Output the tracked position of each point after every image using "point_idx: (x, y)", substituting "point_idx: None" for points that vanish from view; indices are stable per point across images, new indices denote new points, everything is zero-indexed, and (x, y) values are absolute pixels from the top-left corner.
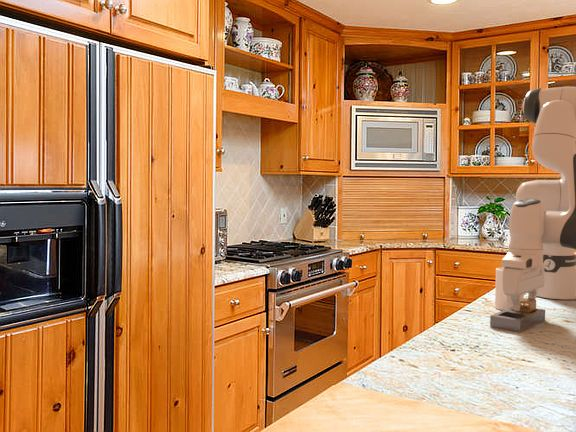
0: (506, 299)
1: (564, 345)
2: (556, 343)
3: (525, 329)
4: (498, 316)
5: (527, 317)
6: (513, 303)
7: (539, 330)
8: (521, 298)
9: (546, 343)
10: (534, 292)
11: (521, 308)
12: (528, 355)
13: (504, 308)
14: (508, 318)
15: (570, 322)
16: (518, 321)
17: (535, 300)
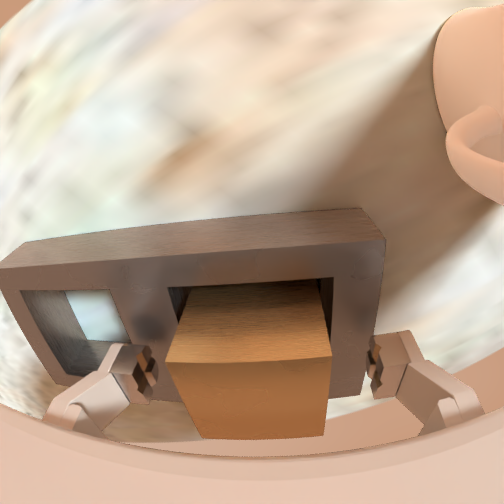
0: (454, 124)
1: (106, 434)
2: None
3: None
4: (13, 302)
5: None
6: (93, 377)
7: None
8: (285, 381)
9: None
10: (421, 430)
11: (156, 380)
12: (6, 390)
13: (441, 89)
14: (34, 344)
15: (378, 402)
16: (54, 375)
17: (307, 434)
